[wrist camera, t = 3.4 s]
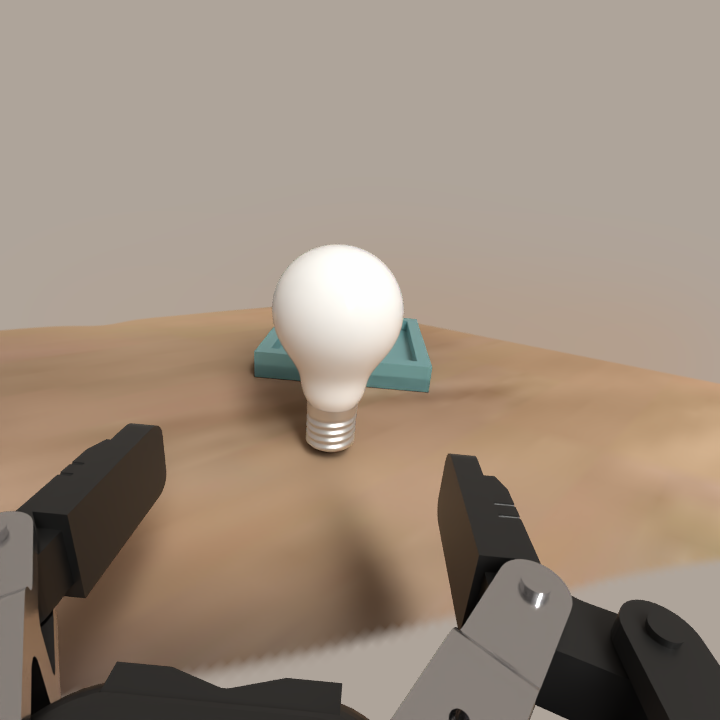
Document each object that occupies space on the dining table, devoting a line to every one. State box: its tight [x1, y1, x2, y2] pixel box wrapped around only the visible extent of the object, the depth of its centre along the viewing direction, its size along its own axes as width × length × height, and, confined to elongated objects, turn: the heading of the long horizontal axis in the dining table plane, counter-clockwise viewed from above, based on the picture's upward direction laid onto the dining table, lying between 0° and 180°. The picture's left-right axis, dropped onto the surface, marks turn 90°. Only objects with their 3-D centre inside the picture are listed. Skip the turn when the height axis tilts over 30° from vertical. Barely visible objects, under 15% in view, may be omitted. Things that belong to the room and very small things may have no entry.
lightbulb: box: [272, 244, 404, 452], centre depth 21 cm, size 6×6×11 cm
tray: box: [254, 318, 432, 392], centre depth 37 cm, size 13×13×2 cm
